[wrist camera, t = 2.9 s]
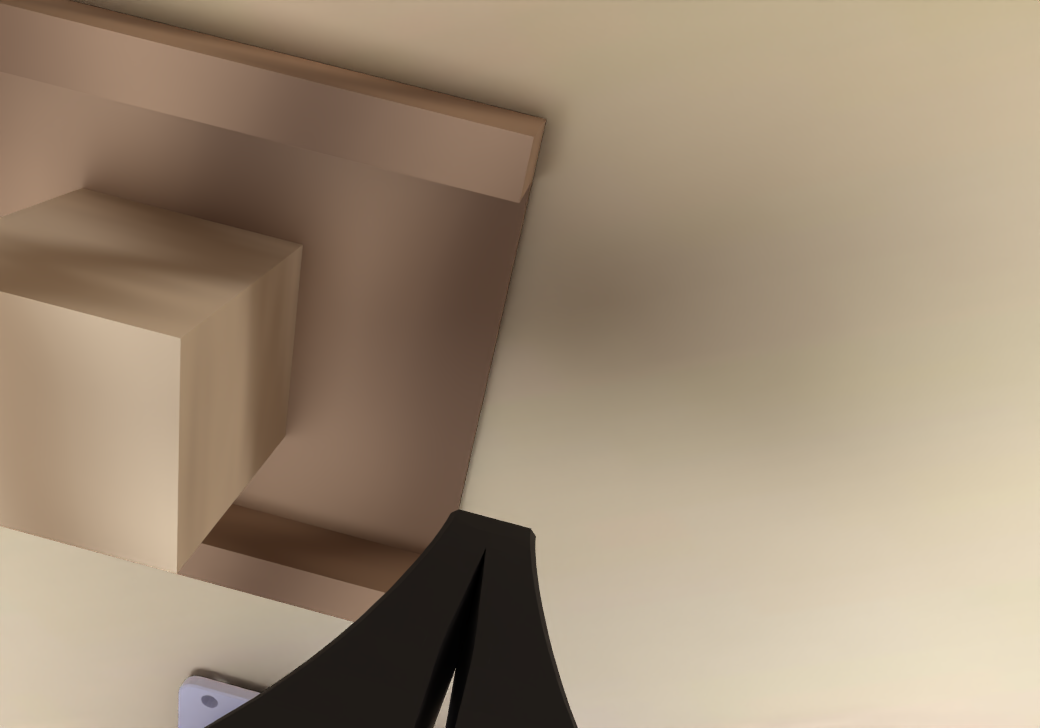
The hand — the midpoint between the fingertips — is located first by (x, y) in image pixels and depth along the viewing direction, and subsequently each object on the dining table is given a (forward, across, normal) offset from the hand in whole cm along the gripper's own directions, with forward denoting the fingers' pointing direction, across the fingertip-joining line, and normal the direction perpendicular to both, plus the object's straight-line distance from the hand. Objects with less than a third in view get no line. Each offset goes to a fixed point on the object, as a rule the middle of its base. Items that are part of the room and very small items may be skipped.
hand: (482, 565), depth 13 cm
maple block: (+6, +8, 0) cm, 10 cm away
